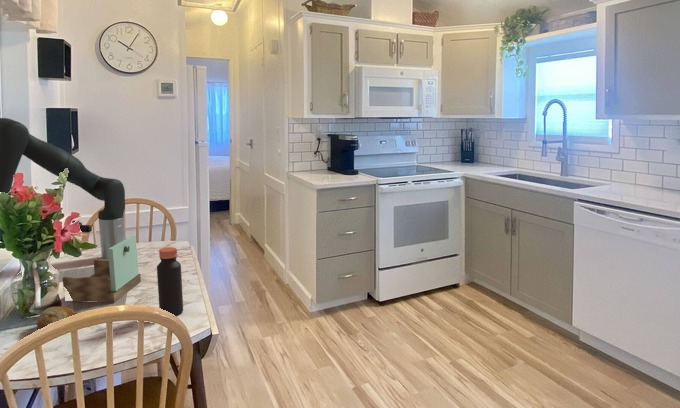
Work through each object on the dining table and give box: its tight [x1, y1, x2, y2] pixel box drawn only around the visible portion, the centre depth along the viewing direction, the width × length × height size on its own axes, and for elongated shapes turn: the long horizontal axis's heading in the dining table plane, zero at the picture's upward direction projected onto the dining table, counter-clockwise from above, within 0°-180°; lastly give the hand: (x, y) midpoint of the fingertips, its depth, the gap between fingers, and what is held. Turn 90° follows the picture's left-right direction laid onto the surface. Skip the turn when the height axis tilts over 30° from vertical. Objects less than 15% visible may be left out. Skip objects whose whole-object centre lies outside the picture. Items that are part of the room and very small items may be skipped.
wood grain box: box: [62, 258, 142, 303], centre depth 158 cm, size 16×19×8 cm
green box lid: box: [108, 235, 139, 291], centre depth 156 cm, size 2×16×14 cm, turn 179°
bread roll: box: [35, 306, 78, 331], centre depth 131 cm, size 10×10×8 cm
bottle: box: [156, 246, 184, 316], centre depth 140 cm, size 7×7×20 cm
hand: (90, 228), depth 154 cm, fingers closed
